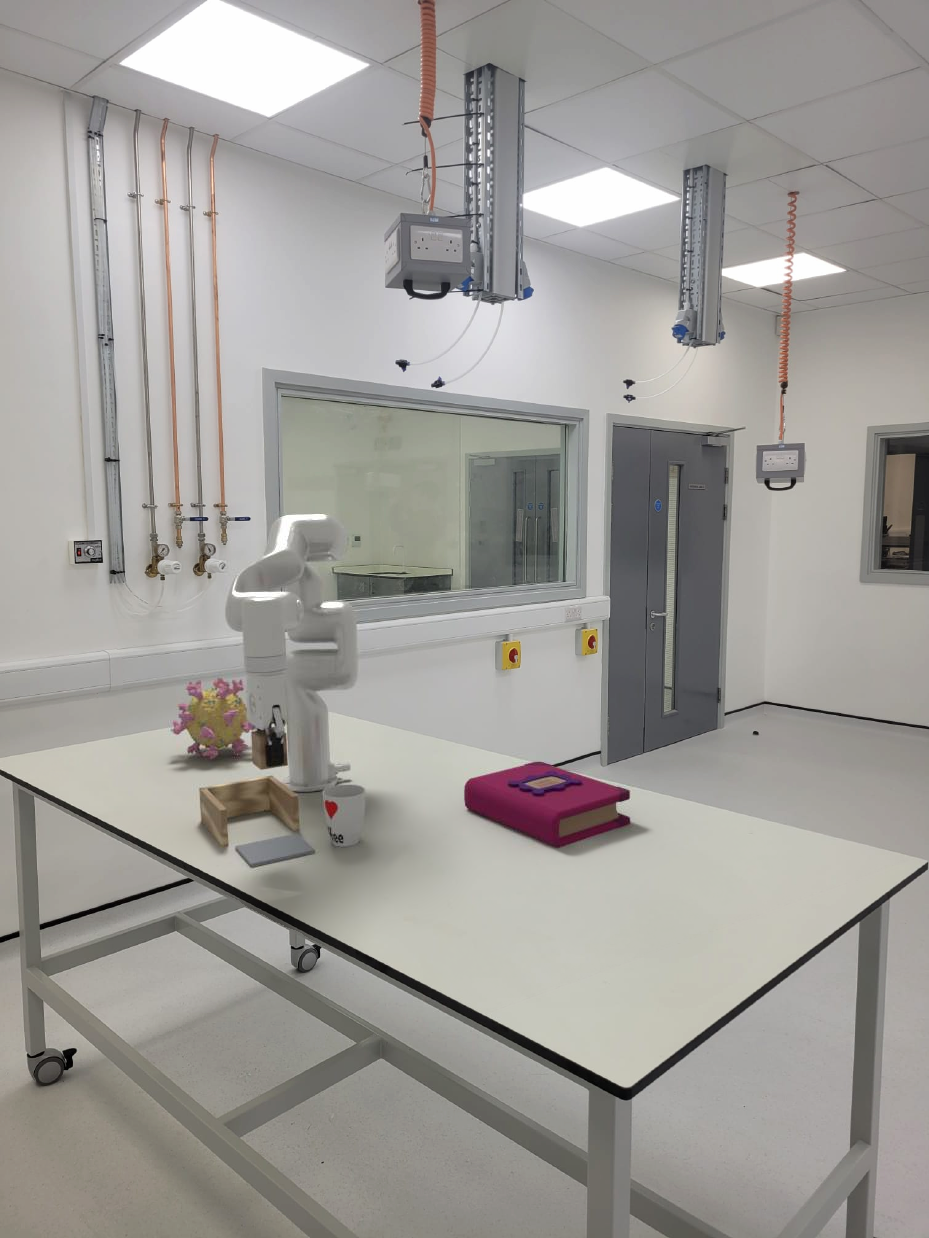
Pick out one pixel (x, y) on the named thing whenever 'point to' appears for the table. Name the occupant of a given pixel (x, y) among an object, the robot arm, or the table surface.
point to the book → (547, 802)
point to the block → (259, 749)
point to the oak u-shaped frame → (246, 803)
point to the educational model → (214, 718)
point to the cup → (344, 813)
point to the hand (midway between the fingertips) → (270, 760)
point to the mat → (274, 849)
